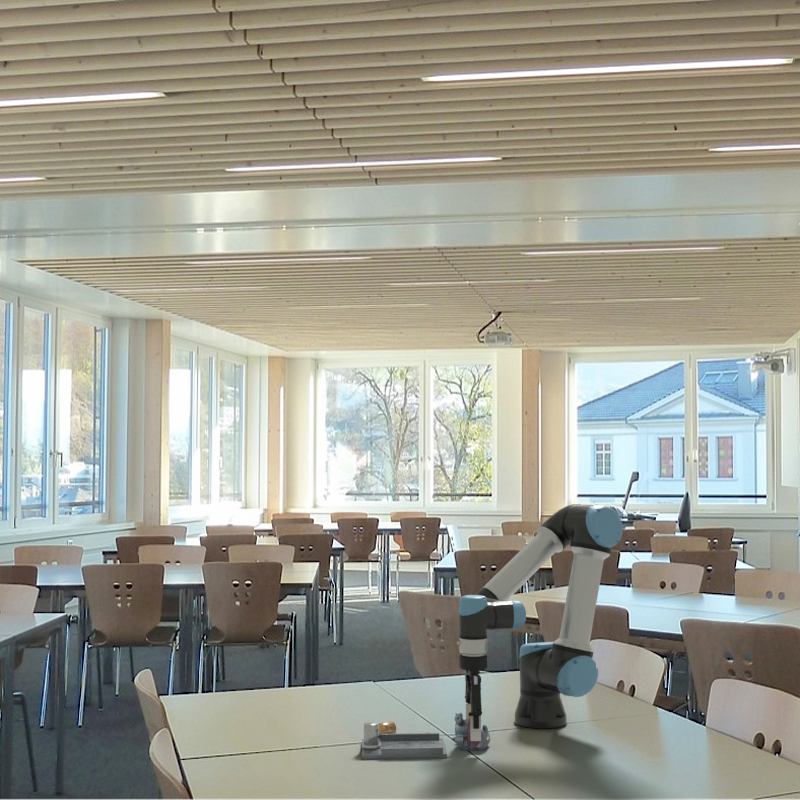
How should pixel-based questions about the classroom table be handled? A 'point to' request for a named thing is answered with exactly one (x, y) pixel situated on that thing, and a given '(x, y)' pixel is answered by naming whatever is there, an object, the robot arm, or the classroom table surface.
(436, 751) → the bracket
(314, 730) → the classroom table surface
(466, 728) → the brake caliper
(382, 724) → the golden brown rounded block
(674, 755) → the classroom table surface
